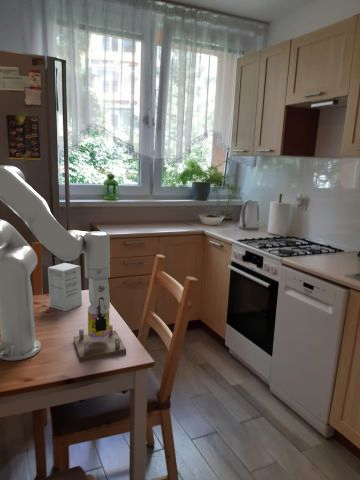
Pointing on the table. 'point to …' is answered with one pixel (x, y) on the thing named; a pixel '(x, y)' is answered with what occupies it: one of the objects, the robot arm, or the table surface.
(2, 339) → the robot arm
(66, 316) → the table surface
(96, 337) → the supplement bottle
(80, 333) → the board
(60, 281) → the supplement box
